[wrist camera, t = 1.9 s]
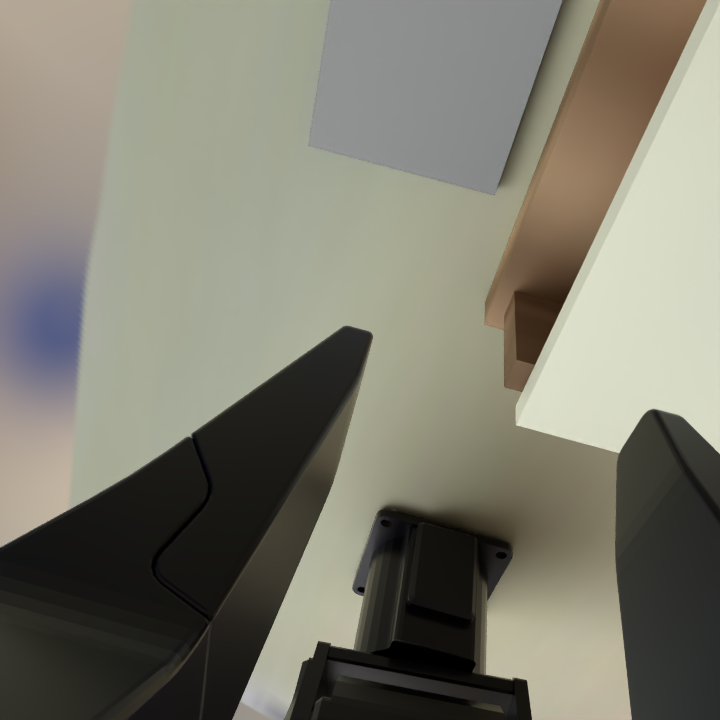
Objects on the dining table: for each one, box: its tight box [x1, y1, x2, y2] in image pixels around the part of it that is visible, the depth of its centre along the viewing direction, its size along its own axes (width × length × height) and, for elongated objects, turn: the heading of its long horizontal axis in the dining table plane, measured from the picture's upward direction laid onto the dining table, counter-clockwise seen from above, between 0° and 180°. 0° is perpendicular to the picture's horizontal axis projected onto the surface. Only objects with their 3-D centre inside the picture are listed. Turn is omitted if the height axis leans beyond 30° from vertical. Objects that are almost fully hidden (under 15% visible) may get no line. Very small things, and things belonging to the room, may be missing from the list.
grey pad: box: [308, 0, 562, 195], centre depth 18 cm, size 8×6×1 cm
